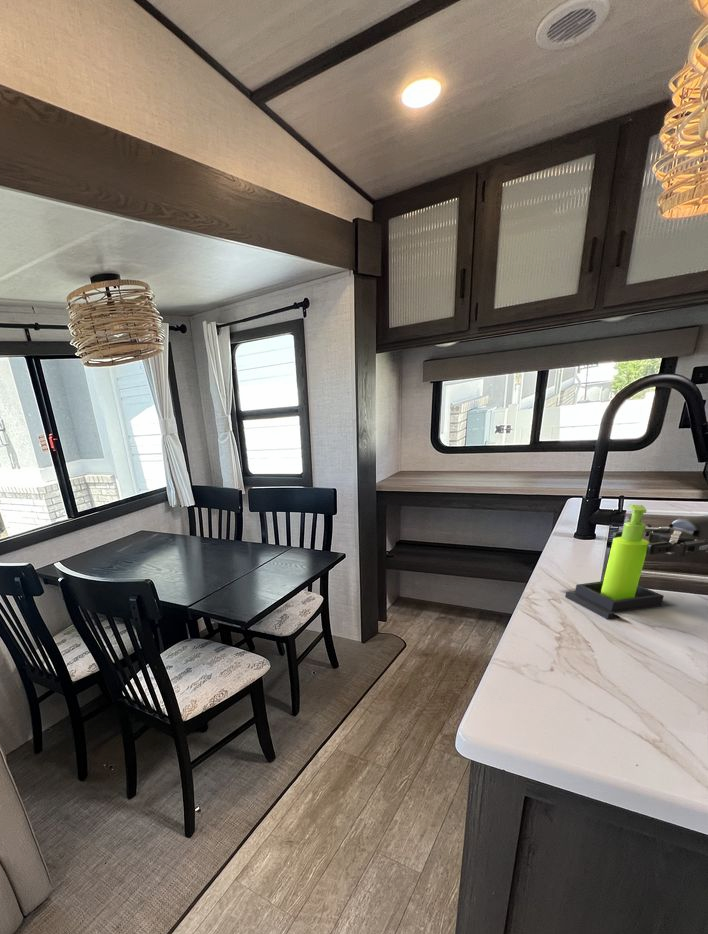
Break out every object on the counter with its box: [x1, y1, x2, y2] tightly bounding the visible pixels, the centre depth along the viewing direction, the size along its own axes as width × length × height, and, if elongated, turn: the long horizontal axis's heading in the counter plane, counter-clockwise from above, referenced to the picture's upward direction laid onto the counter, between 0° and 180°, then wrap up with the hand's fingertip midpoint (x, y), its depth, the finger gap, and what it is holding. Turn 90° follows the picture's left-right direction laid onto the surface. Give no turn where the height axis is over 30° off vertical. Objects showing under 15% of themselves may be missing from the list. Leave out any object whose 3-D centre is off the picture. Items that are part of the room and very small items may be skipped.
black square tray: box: [564, 580, 670, 620], centre depth 101 cm, size 14×12×3 cm
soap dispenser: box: [601, 504, 649, 600], centre depth 97 cm, size 6×7×20 cm
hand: (630, 543), depth 96 cm, fingers open, 8 cm apart
